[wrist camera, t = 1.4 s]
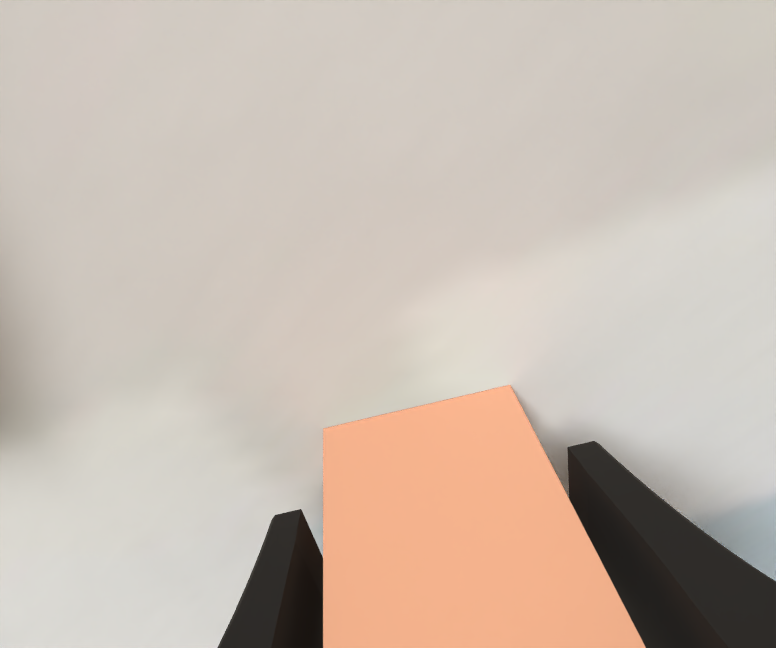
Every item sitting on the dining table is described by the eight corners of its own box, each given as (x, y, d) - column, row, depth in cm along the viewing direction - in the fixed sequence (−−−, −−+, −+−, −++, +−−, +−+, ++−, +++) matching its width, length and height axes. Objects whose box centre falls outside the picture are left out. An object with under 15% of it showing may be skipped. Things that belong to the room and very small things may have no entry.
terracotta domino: (509, 385, 13) (765, 878, 6) (516, 440, 14) (738, 921, 7) (323, 428, 13) (323, 977, 6) (342, 480, 14) (363, 1004, 7)
